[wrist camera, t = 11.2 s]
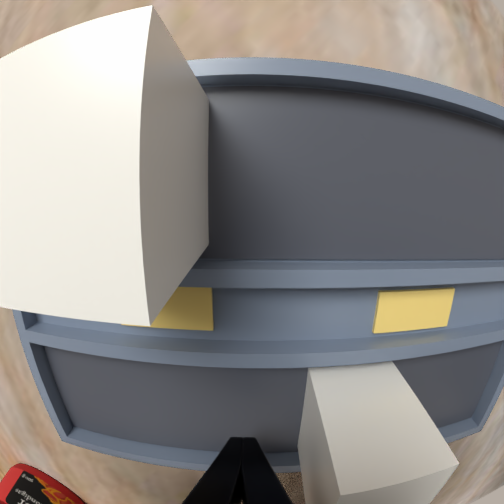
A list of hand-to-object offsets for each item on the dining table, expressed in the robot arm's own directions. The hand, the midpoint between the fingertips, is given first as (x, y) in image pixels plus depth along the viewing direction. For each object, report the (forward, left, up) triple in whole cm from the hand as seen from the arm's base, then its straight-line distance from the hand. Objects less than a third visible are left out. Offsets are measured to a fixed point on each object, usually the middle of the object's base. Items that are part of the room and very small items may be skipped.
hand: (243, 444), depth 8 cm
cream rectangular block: (+3, -8, -2) cm, 9 cm away
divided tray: (-2, -4, -3) cm, 5 cm away
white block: (-4, 0, -2) cm, 4 cm away
